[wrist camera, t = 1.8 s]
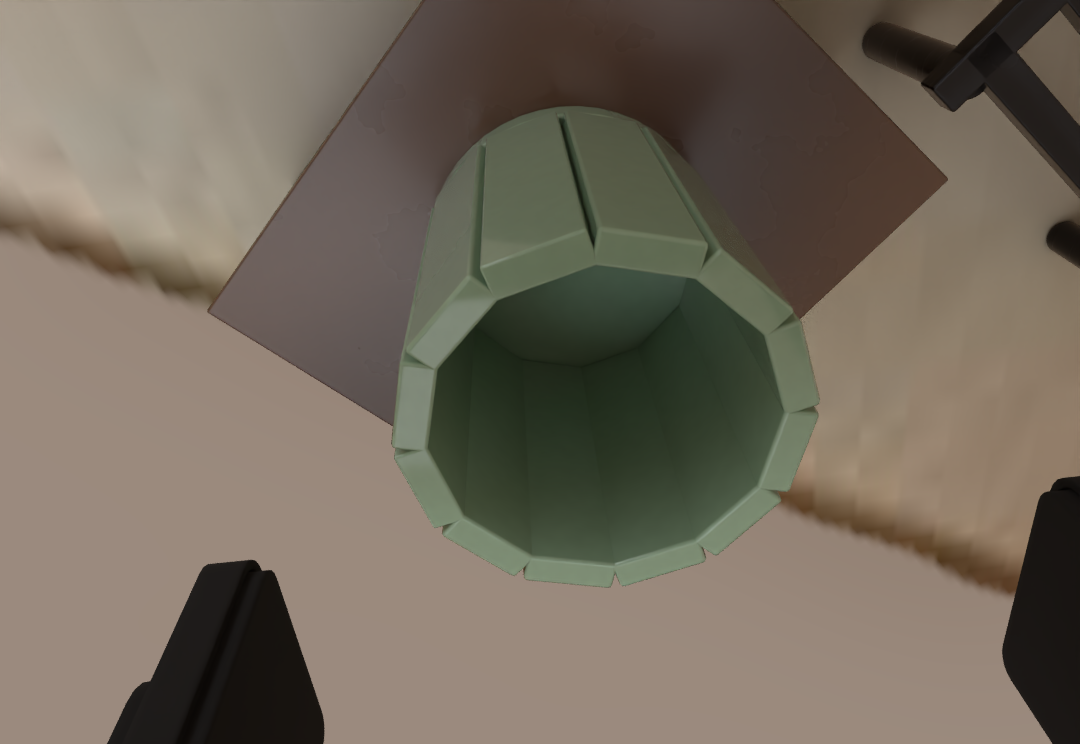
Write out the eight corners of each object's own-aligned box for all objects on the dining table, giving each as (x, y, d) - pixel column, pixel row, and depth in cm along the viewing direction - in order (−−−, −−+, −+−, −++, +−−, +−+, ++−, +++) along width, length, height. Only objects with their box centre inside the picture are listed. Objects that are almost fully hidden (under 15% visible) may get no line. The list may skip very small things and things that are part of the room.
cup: (374, 267, 20) (311, 461, 14) (552, 39, 18) (586, 133, 11) (583, 411, 23) (619, 639, 16) (765, 226, 20) (902, 401, 13)
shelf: (291, 187, 30) (205, 312, 21) (544, -177, 24) (570, -211, 16) (551, 369, 34) (569, 536, 25) (813, 91, 29) (949, 180, 20)
